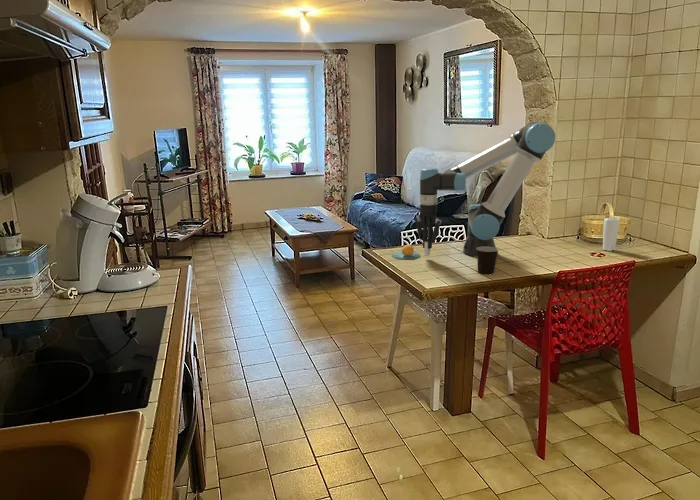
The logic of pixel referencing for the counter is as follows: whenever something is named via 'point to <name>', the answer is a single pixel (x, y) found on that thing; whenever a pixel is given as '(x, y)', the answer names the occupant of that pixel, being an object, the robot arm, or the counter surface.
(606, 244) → the white tall block
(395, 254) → the disc
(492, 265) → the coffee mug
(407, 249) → the ball
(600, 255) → the counter surface
